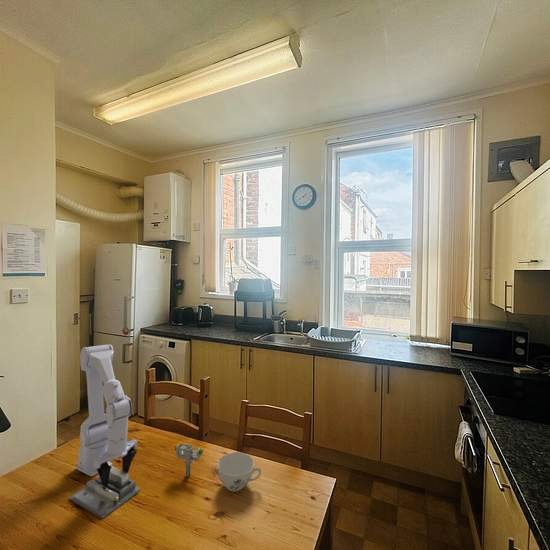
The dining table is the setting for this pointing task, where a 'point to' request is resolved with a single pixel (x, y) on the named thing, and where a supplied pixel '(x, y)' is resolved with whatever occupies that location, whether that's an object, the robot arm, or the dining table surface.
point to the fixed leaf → (103, 496)
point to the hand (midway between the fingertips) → (115, 478)
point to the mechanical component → (187, 455)
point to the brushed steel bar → (118, 478)
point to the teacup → (236, 470)
